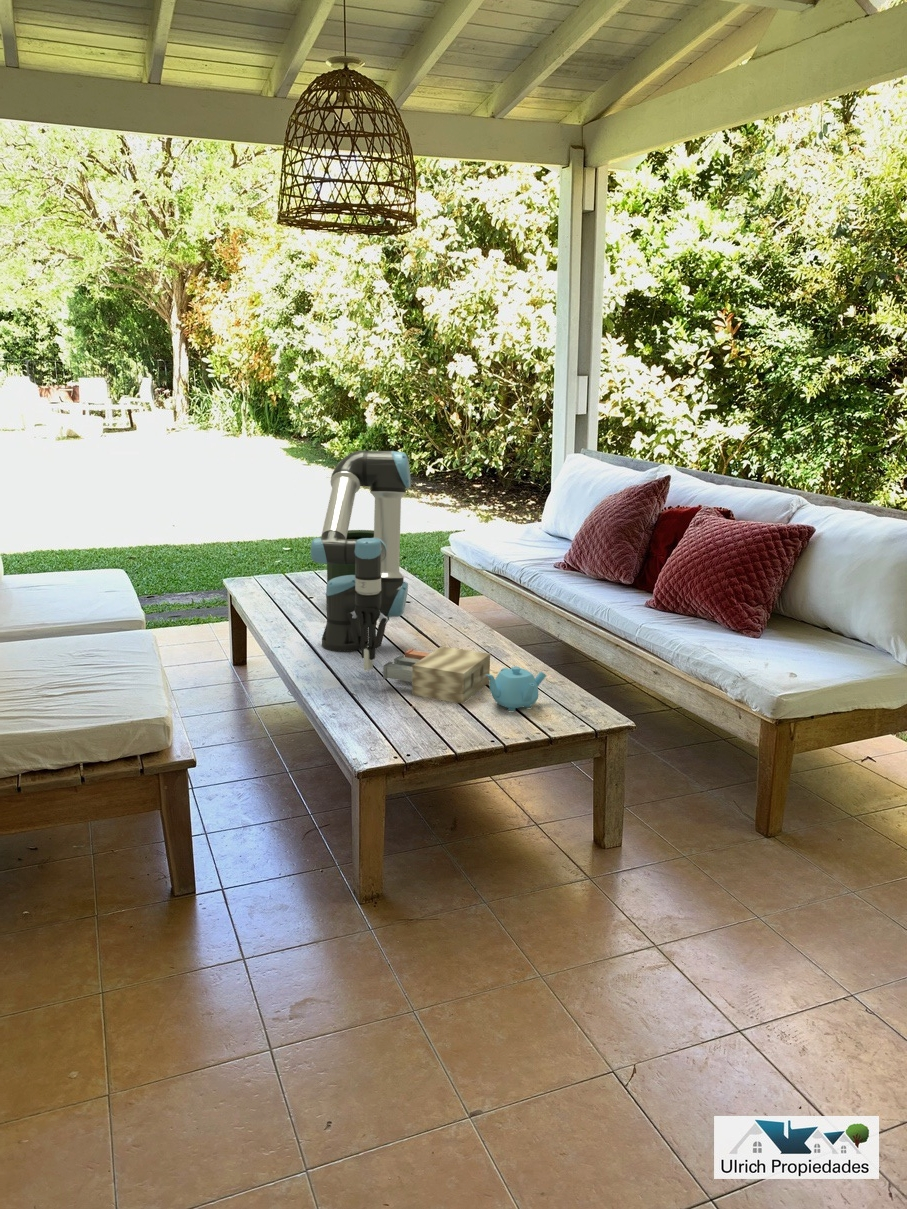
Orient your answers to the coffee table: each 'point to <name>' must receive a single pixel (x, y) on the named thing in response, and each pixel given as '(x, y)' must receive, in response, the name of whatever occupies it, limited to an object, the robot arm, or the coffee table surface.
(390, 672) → the grey plug near
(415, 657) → the terracotta plug
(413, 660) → the grey plug middle
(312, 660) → the coffee table surface
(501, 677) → the teapot
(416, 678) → the socket block
